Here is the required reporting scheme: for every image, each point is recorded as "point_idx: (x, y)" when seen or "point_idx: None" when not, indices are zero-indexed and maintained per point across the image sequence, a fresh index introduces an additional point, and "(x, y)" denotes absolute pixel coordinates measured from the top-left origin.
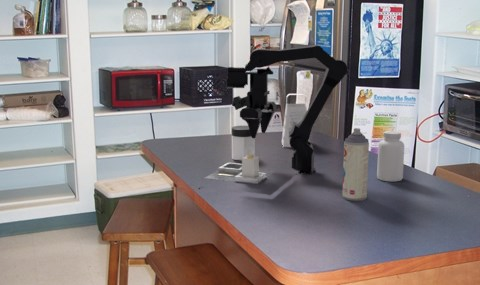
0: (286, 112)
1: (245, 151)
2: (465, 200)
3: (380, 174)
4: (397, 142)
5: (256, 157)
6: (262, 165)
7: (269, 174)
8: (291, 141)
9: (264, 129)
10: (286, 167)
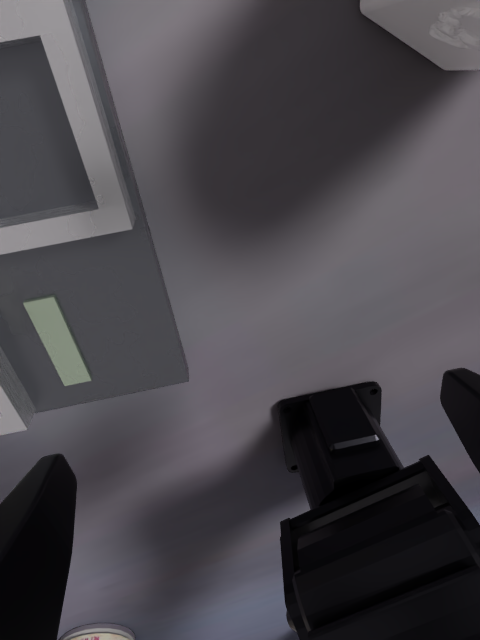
0: None
1: (429, 4)
2: None
3: None
4: None
5: None
6: (365, 185)
7: (108, 389)
8: (297, 595)
9: (469, 438)
10: (371, 332)
